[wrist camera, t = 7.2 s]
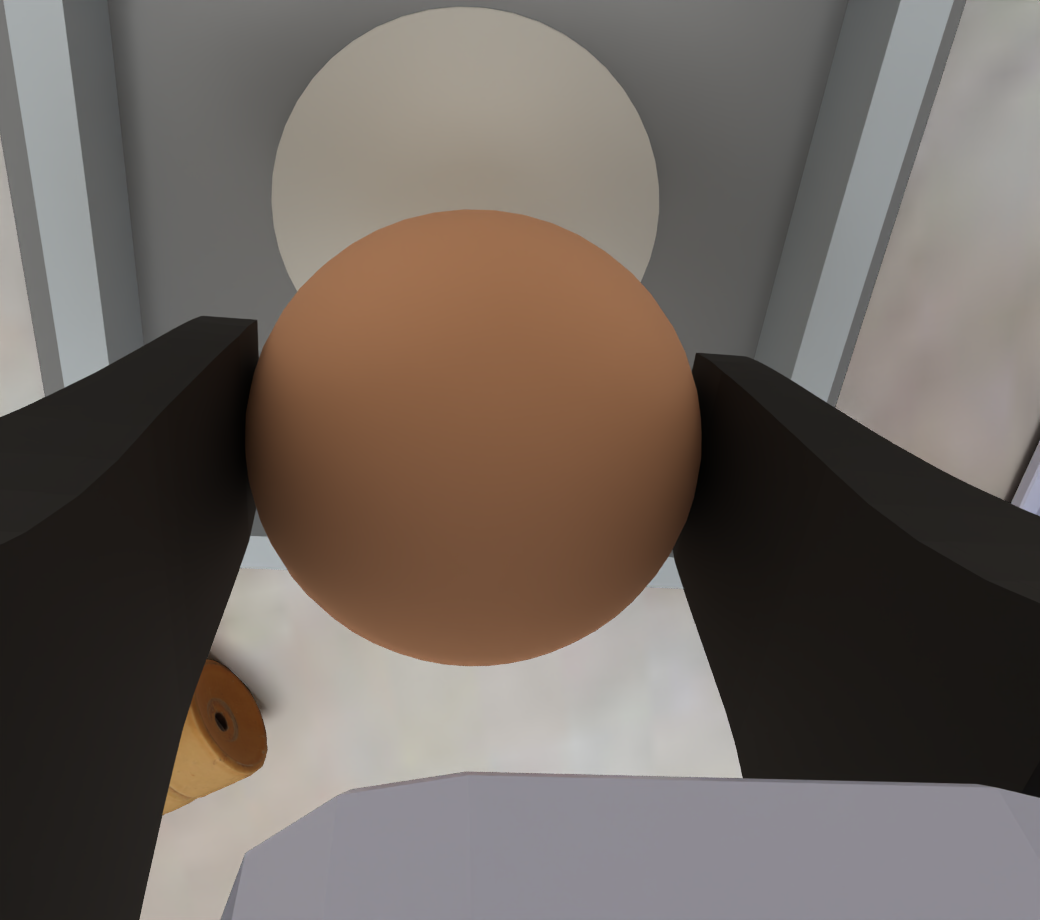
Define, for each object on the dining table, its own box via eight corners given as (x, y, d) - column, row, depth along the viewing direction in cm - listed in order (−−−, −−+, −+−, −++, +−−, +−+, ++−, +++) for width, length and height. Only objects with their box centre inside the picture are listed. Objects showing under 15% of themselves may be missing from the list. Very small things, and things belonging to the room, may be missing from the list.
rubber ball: (689, 173, 12) (822, 350, 8) (622, 505, 14) (694, 773, 10) (277, 135, 11) (174, 301, 7) (285, 487, 14) (213, 761, 10)
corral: (1033, -260, 15) (1132, -281, 12) (773, 565, 23) (806, 637, 21) (-80, -432, 13) (-185, -489, 11) (77, 530, 21) (36, 605, 19)
